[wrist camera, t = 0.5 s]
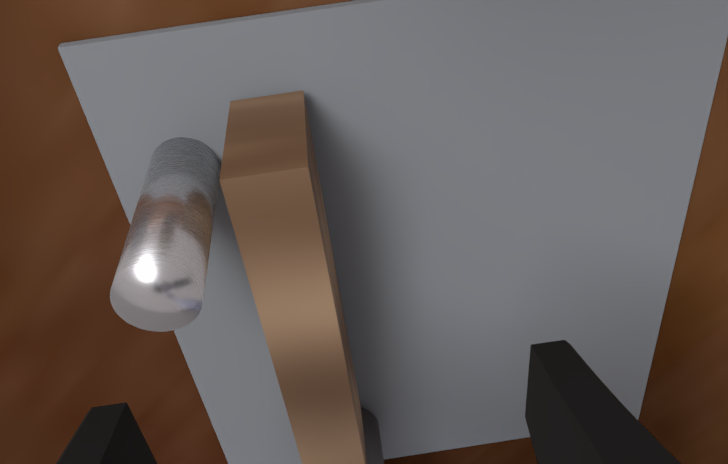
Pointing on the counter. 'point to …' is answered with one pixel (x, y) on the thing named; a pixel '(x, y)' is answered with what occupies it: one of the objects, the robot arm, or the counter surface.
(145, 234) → the hitch post
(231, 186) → the bar
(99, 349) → the counter surface
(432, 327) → the mat
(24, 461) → the counter surface
